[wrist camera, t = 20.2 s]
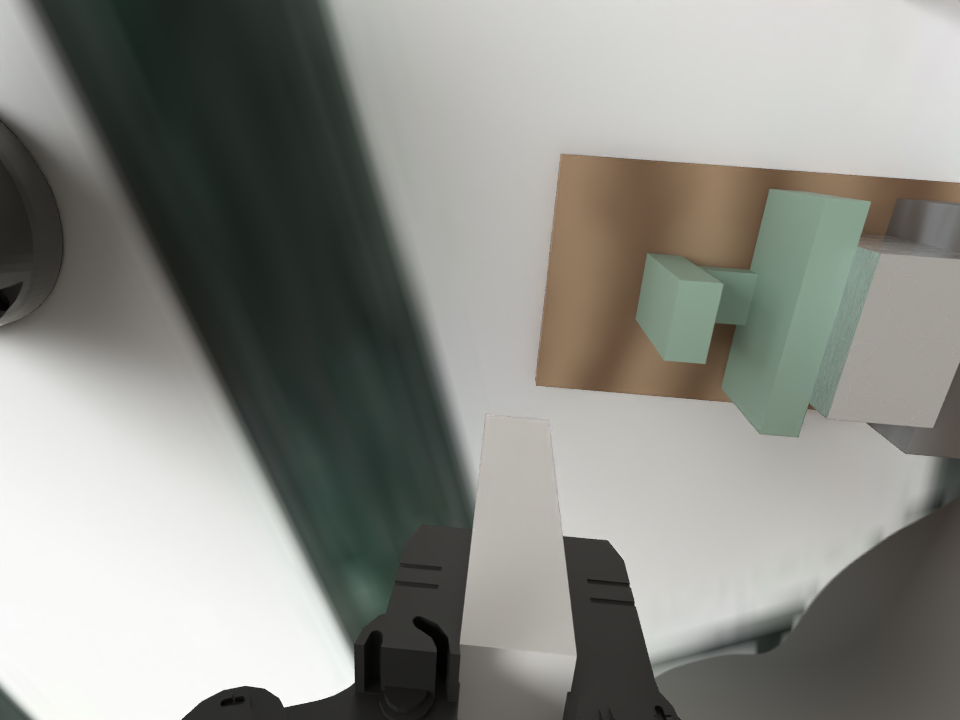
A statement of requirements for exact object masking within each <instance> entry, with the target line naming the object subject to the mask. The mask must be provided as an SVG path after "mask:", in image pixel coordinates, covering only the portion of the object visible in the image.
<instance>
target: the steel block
mask: <svg viewBox="0 0 960 720" xmlns="http://www.w3.org/2000/svg"><path fill="white" fill-rule="evenodd" d="M959 363H960V253H958V252H954V251H950V250H946V249H942V248H937V247H933V246H929V245H925V244H921V243H917V242H913V241H908V240H904V239H900V238H896V237H892V236H888V235H880V234H867V233H861V236H860V240H859V243H858V246H857V249H856V253H855V256H854V259H853V262H852V265H851V269H850V272H849V275H848V278H847V282H846V285H845V288H844V291H843V295H842V298H841V301H840V304H839V307H838V311H837V314H836V317H835V320H834V324H833V327H832V330H831V333H830V337H829V340H828V343H827V346H826V349H825V353H824V356H823V359H822V362H821V366H820V369H819V372H818V375H817V379H816V382H815V385H814V388H813V391H812V395H811V398H810V401H809V404H811V405H812V406H813V407H814V408H815V409H816V410H817V411H819V412H820V413H821V414H822V415H823V416H824V417H825V418H827V419H833V420H845V421H856V422H868V423H879V424H891V425H902V426H914V427H925V428H933V427H934V424H935V422H936V419H937V417H938V414H939V412H940V409H941V407H942V405H943V402H944V400H945V397H946V395H947V392H948V390H949V387H950V385H951V382H952V380H953V377H954V375H955V372H956V370H957V368H958V365H959Z"/></svg>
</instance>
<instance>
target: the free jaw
mask: <svg viewBox="0 0 960 720" xmlns="http://www.w3.org/2000/svg"><path fill="white" fill-rule="evenodd" d="M870 204H871V202H870V201H863V200H857V199H851V198H844V197H838V196H832V195H825V194H819V193H813V192H806V191H793V190H779V189H769V193H768V197H767V202H766V206H765V210H764V214H763V218H762V222H761V226H760V230H759V234H758V238H757V243H756V247H755V251H754V255H753V259H752V263H751V267H750V270H747V269H734V268H721V267H708V266H697V265H695V264H694V263H692V262H691V261H689V260H688V259H686V258H685V257H683V256H679V255H666V254H654V253H647V256H646V262H645V268H644V273H643V279H642V285H641V290H640V296H639V302H638V308H637V313H636V321H637V322H638V323H639V325H640V326H641V328H642V329H643V331H644V332H645V334H646V335H647V337H648V338H649V340H650V341H651V342H652V344H653V345H654V347H655V348H656V350H657V351H658V353H659V354H660V356H661V357H662V358H663V360H664V361H675V362H687V363H699V364H705V363H706V359H707V355H708V350H709V346H710V341H711V337H712V333H713V328H714V324H715V323H723V324H735V325H736V329H735V333H734V337H733V341H732V345H731V349H730V353H729V357H728V361H727V365H726V370H725V374H724V378H723V382H722V386H721V389H722V390H723V391H724V392H725V393H726V395H727V396H728V397H729V398H730V399H731V400H732V402H733V403H734V404H735V405H736V406H737V408H738V409H739V410H740V411H741V412H742V414H743V415H744V416H745V417H746V418H747V419H748V421H749V422H750V423H751V424H752V425H753V427H754V428H755V429H756V430H757V431H758V432H759V434H766V435H777V436H788V437H799V434H800V430H801V427H802V424H803V421H804V417H805V414H806V411H807V408H808V404H809V401H810V398H811V395H812V391H813V388H814V385H815V382H816V379H817V375H818V372H819V369H820V366H821V362H822V359H823V356H824V353H825V349H826V346H827V343H828V340H829V337H830V333H831V330H832V327H833V324H834V320H835V317H836V314H837V311H838V307H839V304H840V301H841V298H842V295H843V291H844V288H845V285H846V282H847V278H848V275H849V272H850V269H851V265H852V262H853V259H854V256H855V253H856V249H857V246H858V243H859V240H860V236H861V233H862V230H863V227H864V223H865V220H866V217H867V214H868V211H869V207H870Z"/></svg>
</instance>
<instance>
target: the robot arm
mask: <svg viewBox="0 0 960 720" xmlns="http://www.w3.org/2000/svg"><path fill="white" fill-rule="evenodd" d="M62 248H63V245H62V230H61V224H60V219H59V214H58V210H57V207H56V204H55V201H54V198H53V195H52V193H51V190H50V188H49V186H48V184H47V182H46V180H45V178H44V176H43V174H42V172H41V170H40V169H39V167H38V165H37V164H36V162H35V161H34V159H33V158H32V156H31V155H30V154H29V152H28V151H27V150H26V148H25V147H24V146H23V144H22V143H21V142H20V141H19V140H18V138H17V137H16V136H15V135H14V134H13V133H12V132H11V131H10V130H9V129H8V128H7V127H6V126H5V125H4V124H3V123H2V122H1V121H0V326H3V325H6V324H8V323H11V322H14V321H17V320H19V319H21V318H23V317H25V316H27V315H28V314H30V313H31V312H33V311H34V310H35V309H36V308H38V307H39V306H40V305H41V304H42V303H43V301H44V300H45V299H46V298H47V296H48V295H49V293H50V292H51V290H52V288H53V286H54V284H55V282H56V280H57V277H58V274H59V270H60V266H61V260H62ZM629 584H630V583H629V579H628V575H627V571H626V567H625V563H624V560H623V559H622V558H621V556H620V555H619V554H618V553H617V551H616V550H615V549H614V548H613V546H612V545H611V544H610V543H609V541H607V540H597V539H586V538H576V537H565V536H563V535H562V526H561V518H560V510H559V501H558V493H557V484H556V476H555V467H554V459H553V451H552V442H551V434H550V425H549V420H544V419H533V418H521V417H510V416H498V415H487V414H486V417H485V425H484V434H483V443H482V452H481V461H480V469H479V478H478V487H477V496H476V505H475V513H474V522H473V530H472V529H461V528H451V527H440V526H430V525H421V526H420V527H419V528H418V529H417V531H416V532H415V533H414V534H413V535H412V536H411V537H410V538H409V539H408V540H407V541H406V544H405V547H404V551H403V554H402V558H401V562H400V567H399V569H398V572H397V576H396V580H395V585H394V587H393V590H392V594H391V598H390V601H389V605H388V608H387V612H386V613H385V614H382V615H380V616H378V617H376V618H375V619H374V620H373V621H372V622H370V623H369V624H368V625H367V626H365V627H364V628H363V630H362V631H361V633H360V635H359V637H358V638H357V640H356V642H355V644H354V659H355V683H354V684H353V685H351V686H350V687H349V688H347V689H345V690H344V691H342V692H340V693H338V694H336V695H334V696H331V697H328V698H325V699H322V700H318V701H314V702H309V703H304V704H299V705H295V706H290V707H285V708H284V707H283V705H282V703H281V701H280V699H279V698H278V697H276V696H275V695H273V694H272V693H270V692H269V691H267V690H266V689H263V688H256V687H249V686H243V687H238V688H233V689H227V690H223V691H221V692H219V693H217V694H215V695H213V696H211V697H209V698H207V699H206V700H204V701H202V702H201V703H199V704H198V705H197V706H196V707H195V708H194V709H193V710H192V711H191V712H189V713H188V714H187V715H186V716H185V717H184V718H183V719H182V720H681V719H680V718H679V717H678V716H677V714H676V712H675V710H674V708H673V706H672V705H671V704H670V703H669V702H668V701H667V700H666V699H665V697H664V696H663V695H662V694H661V693H660V692H659V690H658V687H657V685H656V682H655V679H654V675H653V671H652V667H651V664H650V660H649V656H648V652H647V648H646V644H645V640H644V637H643V633H642V629H641V625H640V621H639V617H638V613H637V610H636V607H635V606H634V598H633V594H632V590H631V588H630V586H629Z"/></svg>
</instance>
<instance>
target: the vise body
mask: <svg viewBox="0 0 960 720" xmlns="http://www.w3.org/2000/svg"><path fill="white" fill-rule="evenodd" d="M769 189H779V190H793V191H806V192H813V193H819V194H825V195H832V196H838V197H844V198H851V199H857V200H863V201H870V202H871V204H870V207H869V211H868V214H867V217H866V220H865V223H864V227H863V230H862V233H867V234H880V235H888V236H892V237H896V238H900V239H904V240H908V241H913V242H917V243H921V244H925V245H929V246H933V247H937V248H942V249H946V250H950V251H954V252H958V253H960V183H954V182H940V181H926V180H912V179H899V178H885V177H871V176H857V175H844V174H830V173H816V172H802V171H789V170H775V169H761V168H747V167H734V166H720V165H706V164H692V163H679V162H665V161H651V160H637V159H624V158H610V157H596V156H582V155H568V154H561V156H560V165H559V174H558V183H557V192H556V201H555V210H554V218H553V227H552V236H551V245H550V254H549V263H548V272H547V281H546V290H545V299H544V308H543V316H542V325H541V334H540V343H539V352H538V361H537V370H536V379H535V380H536V386H547V387H559V388H570V389H582V390H593V391H605V392H617V393H628V394H640V395H652V396H663V397H675V398H686V399H698V400H710V401H721V402H732V400H731V399H730V398H729V397H728V396H727V395H726V393H725V392H724V391H723V390H722V389H721V386H722V382H723V378H724V374H725V370H726V365H727V361H728V357H729V353H730V349H731V345H732V341H733V337H734V333H735V329H736V325H735V324H723V323H715V324H714V328H713V333H712V337H711V341H710V346H709V350H708V355H707V359H706V363H705V364H699V363H687V362H675V361H664V360H663V358H662V357H661V356H660V354H659V353H658V351H657V350H656V348H655V347H654V345H653V344H652V342H651V341H650V340H649V338H648V337H647V335H646V334H645V332H644V331H643V329H642V328H641V326H640V325H639V323H638V322H637V321H636V313H637V308H638V302H639V296H640V290H641V285H642V279H643V273H644V268H645V262H646V256H647V253H654V254H666V255H679V256H683V257H685V258H686V259H688V260H689V261H691V262H692V263H694V264H695V265H697V266H708V267H721V268H734V269H747V270H750V267H751V263H752V259H753V255H754V251H755V247H756V243H757V238H758V234H759V230H760V226H761V222H762V218H763V214H764V210H765V206H766V202H767V197H768V193H769ZM807 409H814V410H816V409H815V408H814V407H813V406H812V405H811V404H808V408H807ZM866 423H867V424H868V425H870V426H871V427H872V428H873V429H875V430H876V431H877V432H878V433H880V434H881V435H882V436H883V437H885V438H886V439H887V440H888V441H890V442H891V443H892V444H894V445H895V446H896V447H897V448H899V449H900V450H901V451H902V452H904V453H905V454H914V455H925V456H936V457H948V458H959V459H960V363H959V365H958V368H957V370H956V372H955V375H954V377H953V380H952V382H951V385H950V387H949V390H948V392H947V395H946V397H945V400H944V402H943V405H942V407H941V409H940V412H939V414H938V417H937V419H936V422H935V424H934V427H933V428H925V427H914V426H902V425H891V424H879V423H868V422H866Z"/></svg>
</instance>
